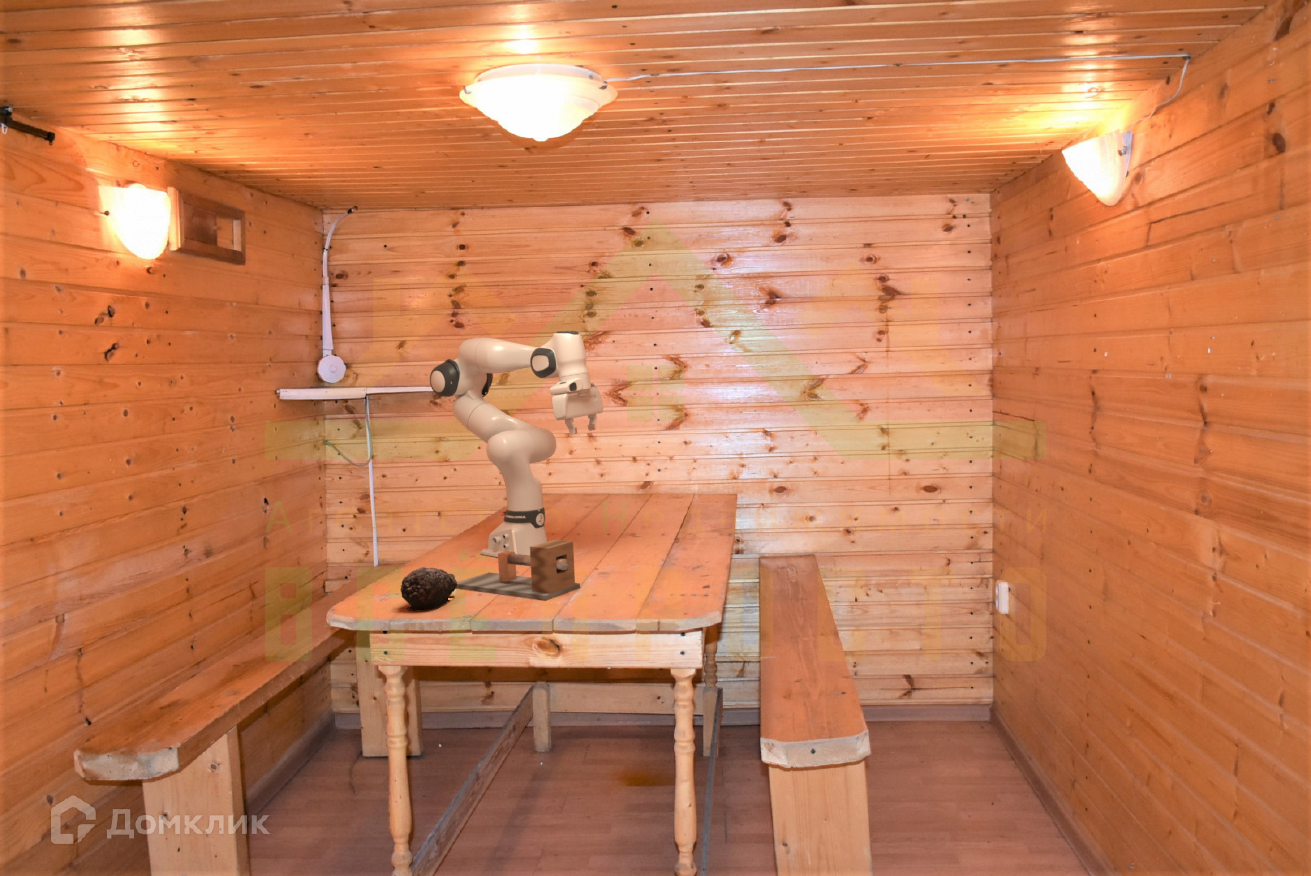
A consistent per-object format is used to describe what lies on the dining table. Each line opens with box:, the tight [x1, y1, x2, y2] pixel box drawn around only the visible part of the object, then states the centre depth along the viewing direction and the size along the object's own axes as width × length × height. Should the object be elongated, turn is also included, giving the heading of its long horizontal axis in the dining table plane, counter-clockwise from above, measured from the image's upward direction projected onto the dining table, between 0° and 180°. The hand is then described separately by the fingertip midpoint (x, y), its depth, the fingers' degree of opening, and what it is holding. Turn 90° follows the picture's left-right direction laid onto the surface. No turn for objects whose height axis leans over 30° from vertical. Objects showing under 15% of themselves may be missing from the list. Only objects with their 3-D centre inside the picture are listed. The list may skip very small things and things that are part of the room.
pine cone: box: [400, 566, 458, 612], centre depth 232 cm, size 10×18×10 cm, turn 170°
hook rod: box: [497, 551, 568, 581], centre depth 241 cm, size 21×3×7 cm, turn 57°
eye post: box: [455, 539, 581, 601], centre depth 245 cm, size 32×14×13 cm, turn 57°
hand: (583, 432), depth 271 cm, fingers open, 8 cm apart
